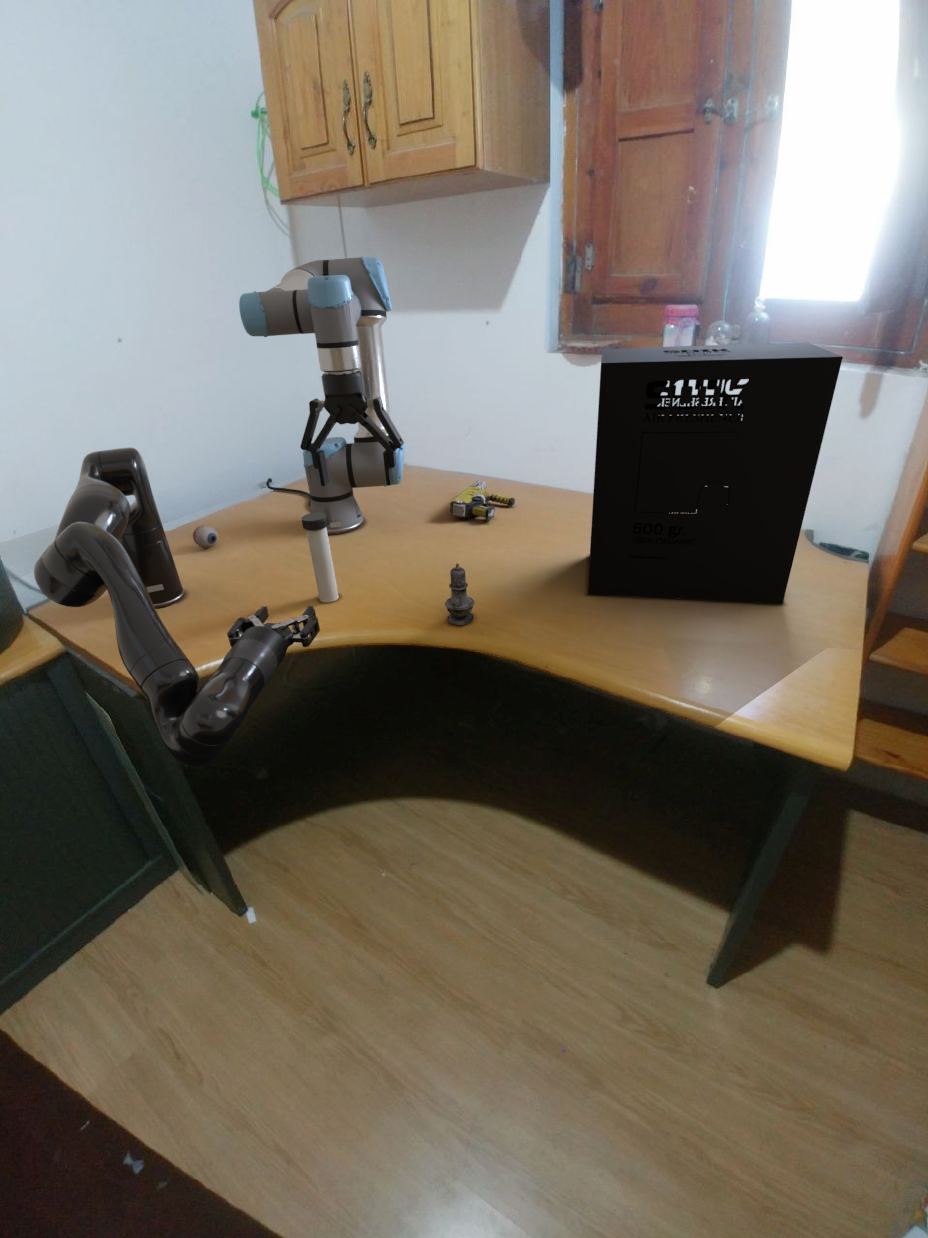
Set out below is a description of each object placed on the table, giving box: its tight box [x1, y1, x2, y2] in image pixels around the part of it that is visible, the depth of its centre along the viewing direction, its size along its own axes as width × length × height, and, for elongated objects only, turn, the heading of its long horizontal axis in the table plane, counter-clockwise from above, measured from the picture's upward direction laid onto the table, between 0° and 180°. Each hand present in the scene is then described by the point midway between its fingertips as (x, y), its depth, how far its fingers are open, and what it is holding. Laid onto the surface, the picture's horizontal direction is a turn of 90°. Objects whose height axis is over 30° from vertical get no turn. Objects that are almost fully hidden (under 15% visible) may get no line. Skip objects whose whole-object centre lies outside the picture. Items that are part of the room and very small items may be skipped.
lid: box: [301, 512, 328, 531], centre depth 122 cm, size 5×5×2 cm
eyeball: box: [192, 524, 219, 549], centre depth 158 cm, size 6×6×6 cm
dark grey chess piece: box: [444, 563, 475, 626], centre depth 117 cm, size 6×6×12 cm
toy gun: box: [449, 480, 516, 522], centre depth 174 cm, size 5×24×15 cm
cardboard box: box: [587, 342, 844, 605], centre depth 120 cm, size 38×20×45 cm, turn 78°
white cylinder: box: [305, 528, 340, 604], centre depth 126 cm, size 4×4×18 cm
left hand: (288, 610), depth 108 cm, fingers open, 8 cm apart
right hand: (357, 483), depth 122 cm, fingers open, 13 cm apart
